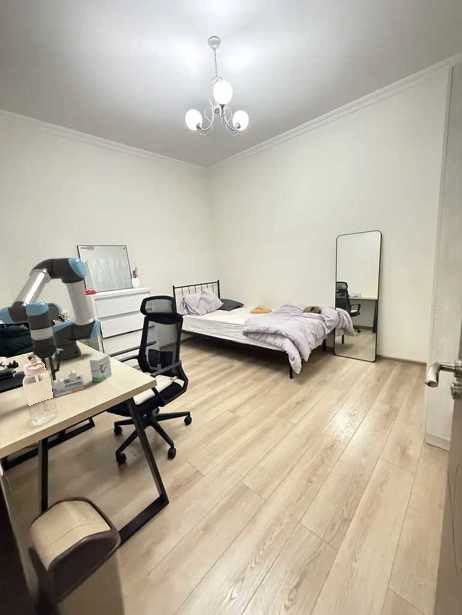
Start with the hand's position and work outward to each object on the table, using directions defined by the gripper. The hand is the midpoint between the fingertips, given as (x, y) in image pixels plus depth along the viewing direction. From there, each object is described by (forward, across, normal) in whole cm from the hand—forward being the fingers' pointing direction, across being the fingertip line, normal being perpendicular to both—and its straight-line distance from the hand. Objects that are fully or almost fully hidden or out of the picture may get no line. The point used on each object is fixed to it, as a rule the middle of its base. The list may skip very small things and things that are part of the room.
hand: (52, 387), depth 113 cm
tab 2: (+2, +8, +7) cm, 11 cm away
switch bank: (+4, +6, +4) cm, 8 cm away
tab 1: (+2, +3, 0) cm, 4 cm away
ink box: (+4, +20, +4) cm, 21 cm away
